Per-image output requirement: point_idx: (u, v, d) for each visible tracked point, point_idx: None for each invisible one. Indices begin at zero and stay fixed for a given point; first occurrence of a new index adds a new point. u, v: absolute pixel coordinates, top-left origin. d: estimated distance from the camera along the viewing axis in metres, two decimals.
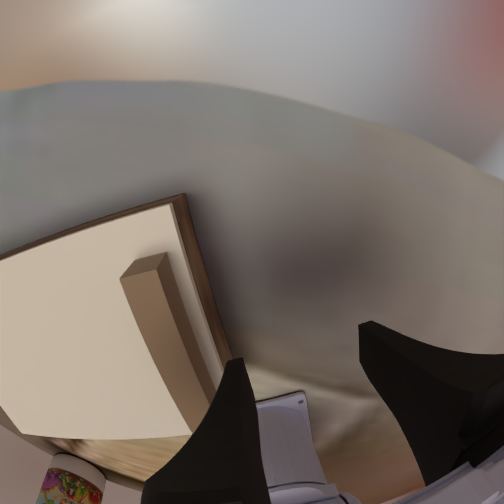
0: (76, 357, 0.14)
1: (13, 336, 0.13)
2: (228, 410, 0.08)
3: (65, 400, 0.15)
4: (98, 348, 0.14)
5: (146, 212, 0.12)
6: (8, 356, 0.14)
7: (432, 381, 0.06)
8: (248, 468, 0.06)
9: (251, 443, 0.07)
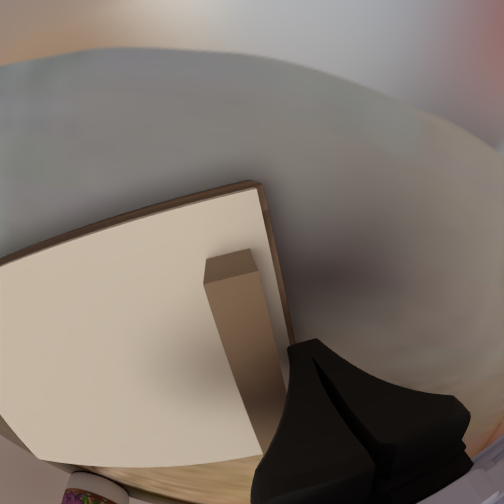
0: (116, 380, 0.12)
1: (29, 355, 0.11)
2: (311, 390, 0.08)
3: (96, 428, 0.13)
4: (146, 369, 0.12)
5: (226, 197, 0.10)
6: (23, 378, 0.11)
7: (352, 415, 0.06)
8: None
9: None
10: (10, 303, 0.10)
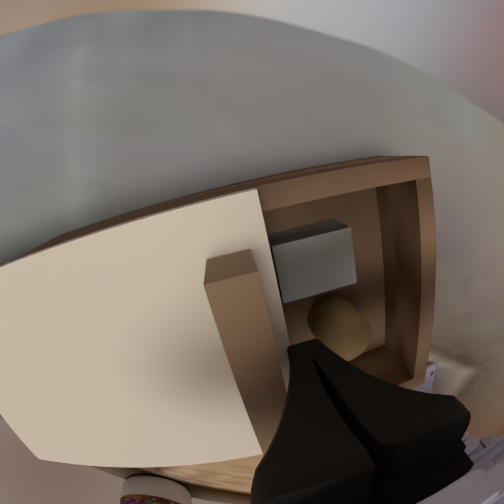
0: (116, 380, 0.12)
1: (30, 355, 0.11)
2: (311, 390, 0.08)
3: (97, 428, 0.13)
4: (146, 370, 0.12)
5: (226, 198, 0.10)
6: (23, 378, 0.11)
7: (352, 416, 0.06)
8: None
9: None
10: (10, 303, 0.10)
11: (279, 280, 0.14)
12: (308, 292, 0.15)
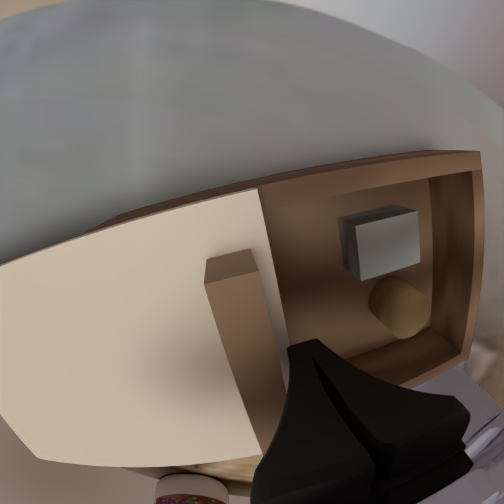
0: (116, 380, 0.12)
1: (29, 354, 0.11)
2: (311, 390, 0.08)
3: (96, 427, 0.13)
4: (146, 369, 0.12)
5: (226, 197, 0.10)
6: (23, 377, 0.11)
7: (352, 416, 0.06)
8: None
9: None
10: (10, 302, 0.10)
11: (359, 259, 0.15)
12: (382, 270, 0.15)
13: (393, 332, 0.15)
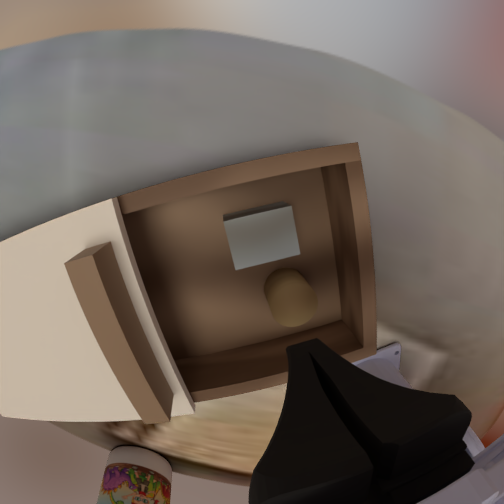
0: (42, 339, 0.15)
1: None
2: (310, 390, 0.08)
3: (35, 381, 0.15)
4: (59, 331, 0.14)
5: (93, 206, 0.13)
6: None
7: (354, 415, 0.06)
8: None
9: None
10: None
11: (231, 250, 0.17)
12: (256, 261, 0.18)
13: (276, 319, 0.18)
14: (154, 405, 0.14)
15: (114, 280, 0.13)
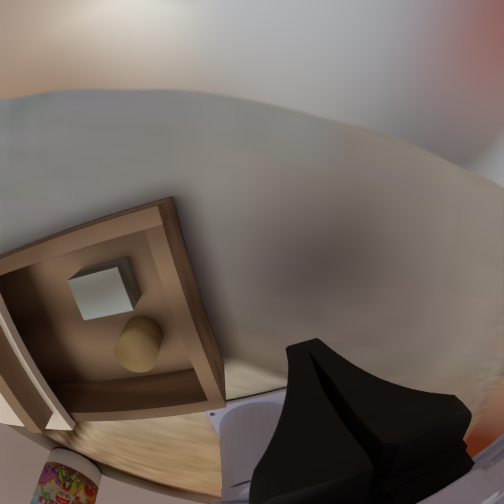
0: None
1: None
2: (310, 390, 0.08)
3: None
4: None
5: None
6: None
7: (354, 415, 0.06)
8: None
9: None
10: None
11: (77, 303, 0.17)
12: (98, 314, 0.18)
13: (122, 364, 0.18)
14: (29, 419, 0.14)
15: None
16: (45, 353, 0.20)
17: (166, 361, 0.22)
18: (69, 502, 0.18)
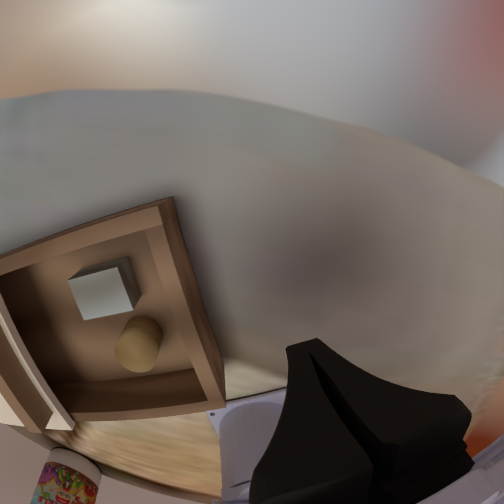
0: None
1: None
2: (310, 390, 0.08)
3: None
4: None
5: None
6: None
7: (354, 415, 0.06)
8: None
9: None
10: None
11: (77, 303, 0.17)
12: (98, 314, 0.18)
13: (122, 364, 0.18)
14: (29, 419, 0.14)
15: None
16: (45, 353, 0.20)
17: (166, 361, 0.22)
18: (69, 502, 0.18)
